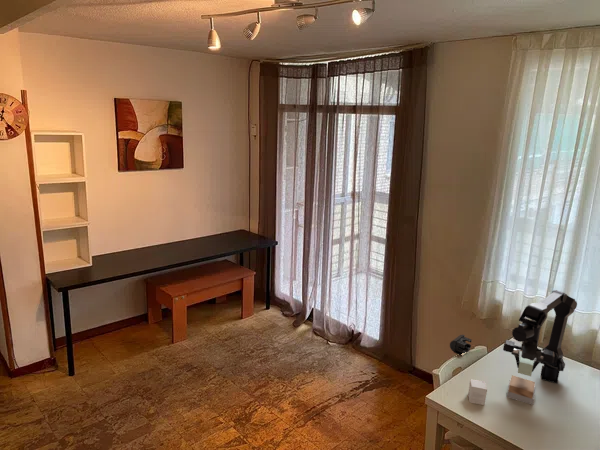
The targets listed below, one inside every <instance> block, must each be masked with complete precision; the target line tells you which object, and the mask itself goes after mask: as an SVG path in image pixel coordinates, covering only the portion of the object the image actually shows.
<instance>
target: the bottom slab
mask: <svg viewBox="0 0 600 450" xmlns="http://www.w3.org/2000/svg"><path fill="white" fill-rule="evenodd" d="M510 381H511V379H510V380H509V381H508V387H507V392H506V393H507V394H506V397H507V398H510V399H512V400H516V401H519V402H523V403H525V404H530V405H534V403H535V392H536V387H535V386H534V392H533V397H532V399H531V398H528V397H525V396H521V395H518V394H515V393H512V392H509V385H510Z"/></svg>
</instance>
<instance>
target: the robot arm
mask: <svg viewBox="0 0 600 450" xmlns="http://www.w3.org/2000/svg"><path fill="white" fill-rule="evenodd" d="M577 307H578V302H577V301H576V298H573V297H571V296H569V295H568V294H567V293H565V292H563V291H560V290H557V289H554V290H552V291H551V293H550V294H549V295H547V296H546V297H545V298H543V299H542V300H540V301H539V302H532V303H529V304H528V305H526V306H525V307H524V310H523V311H522V313H521V315H520V317H519V319H518V322H521V323H519V324H518V326H516V327H514V328H513V329H512V331H511V334H512V338H513V339H514V340H516V341H517V342H519V343H520V342H521V345H517V344H516V342H515V341H512V340H509V339H505V340H504V344H503V349H502V350H503V351H504V352H507V353H511V355H513V356H514V358H515V362H516V367H517V369H518V368H519V361H520V357H522V358H524V359H525V358H526V359H530V360H533V369H532V373H534V370H536V369H537V367H538V365H539V364H542V366H541V369H540V370H541V371H540V376H541V380H544V381H547V382H551V383H554V384H558V383H559V377H560V372H564V369H565V367H566V362H565V361H564V352H563V350H562V343H563V339H564V335H565V330H566V329H567V327H566V326H567V323H568V318H569V317H570V316H571V315H572V314H574V312H575V310H576V309H577ZM552 310H553V312H554V314H555V317H554V320H553V324H552V329H551V333H550V336H549V340H548V345H546V346H545V347H543V348H542V349H540V348H538V345H539V340H540V335H541V329H542V327H543V325H544V324H545V321H546V319H548V314H549V312H551V311H552ZM520 353H521V355H520Z"/></svg>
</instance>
